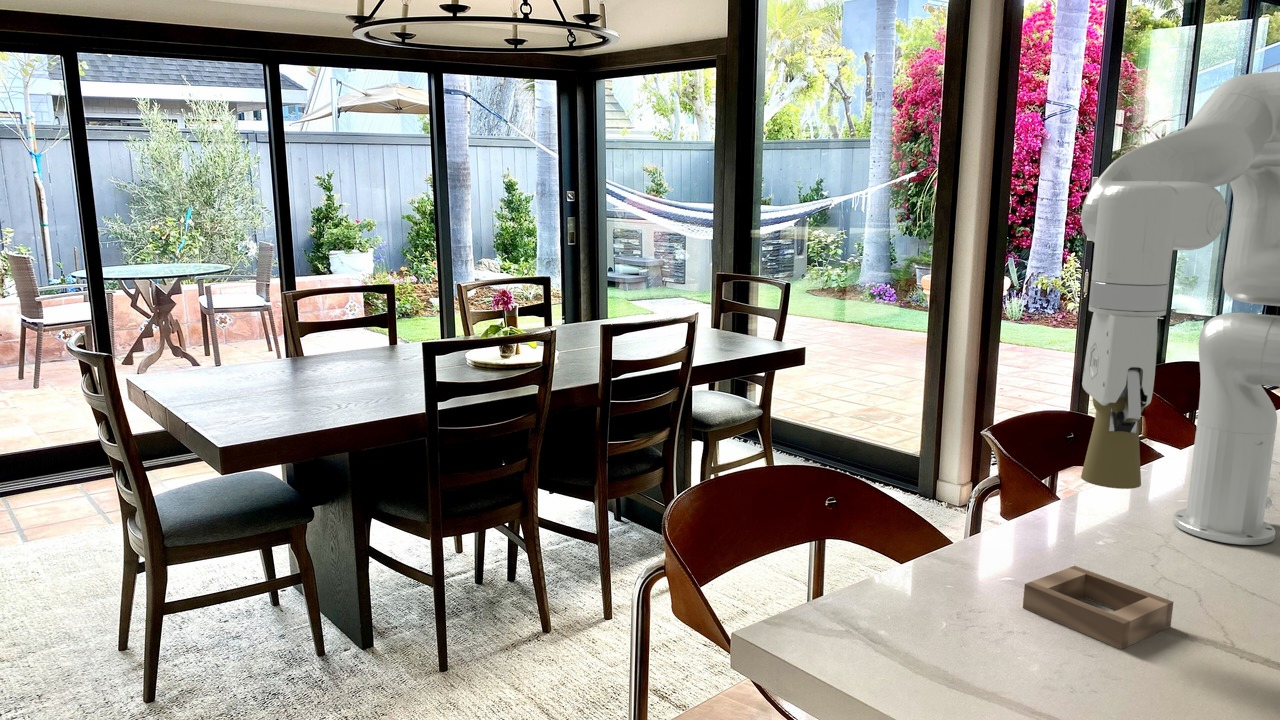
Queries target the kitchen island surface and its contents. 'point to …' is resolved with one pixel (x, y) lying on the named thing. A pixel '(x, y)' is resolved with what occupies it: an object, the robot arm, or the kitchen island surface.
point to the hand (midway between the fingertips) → (1111, 460)
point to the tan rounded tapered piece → (1112, 452)
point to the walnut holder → (1119, 628)
